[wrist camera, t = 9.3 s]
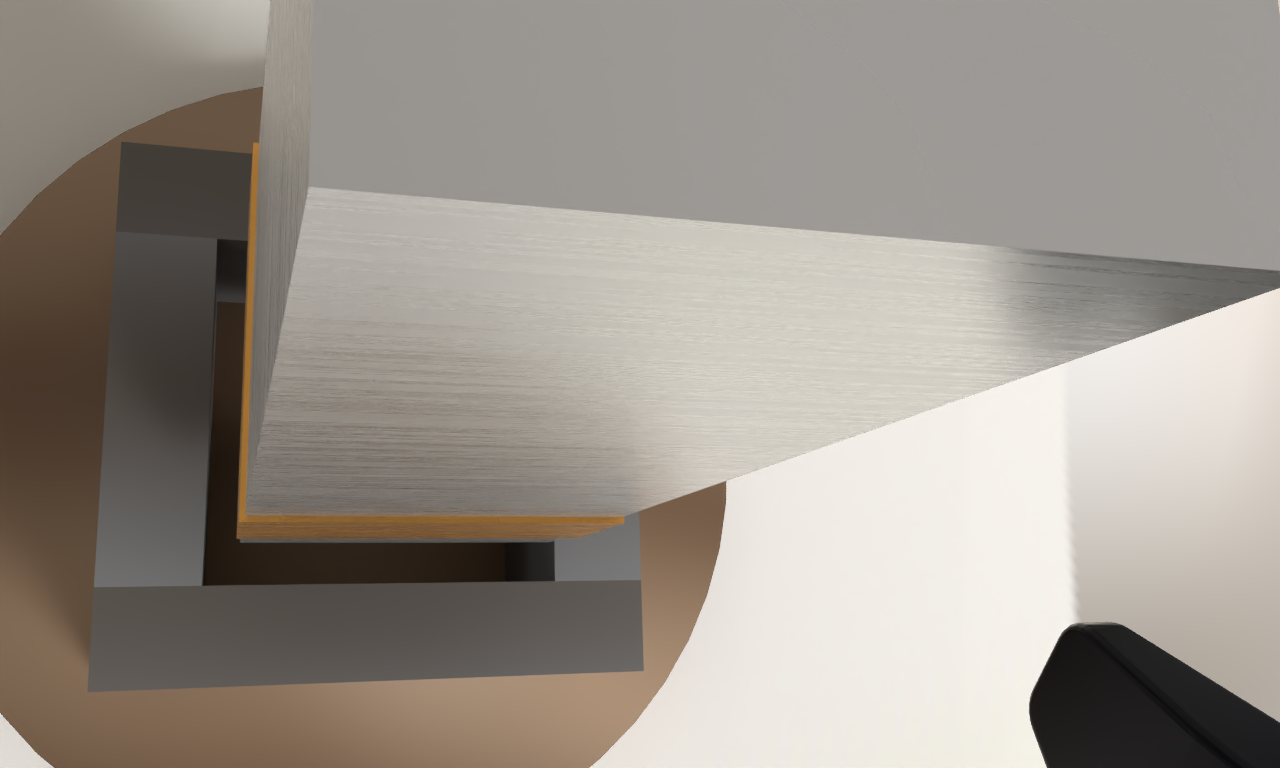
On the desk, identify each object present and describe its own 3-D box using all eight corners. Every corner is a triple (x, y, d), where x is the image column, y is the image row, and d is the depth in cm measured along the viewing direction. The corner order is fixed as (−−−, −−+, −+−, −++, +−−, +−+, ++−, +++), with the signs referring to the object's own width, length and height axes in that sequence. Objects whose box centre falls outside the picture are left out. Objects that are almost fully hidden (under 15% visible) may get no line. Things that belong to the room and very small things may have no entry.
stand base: (719, 823, 20) (831, 860, 17) (-107, 892, 17) (-199, 958, 13) (691, 145, 23) (783, 46, 19) (-32, 68, 19) (-93, -75, 15)
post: (553, 546, 15) (1332, 286, 5) (235, 547, 14) (289, 204, 3) (549, 256, 16) (1202, -536, 5) (247, 233, 15) (321, -844, 4)
